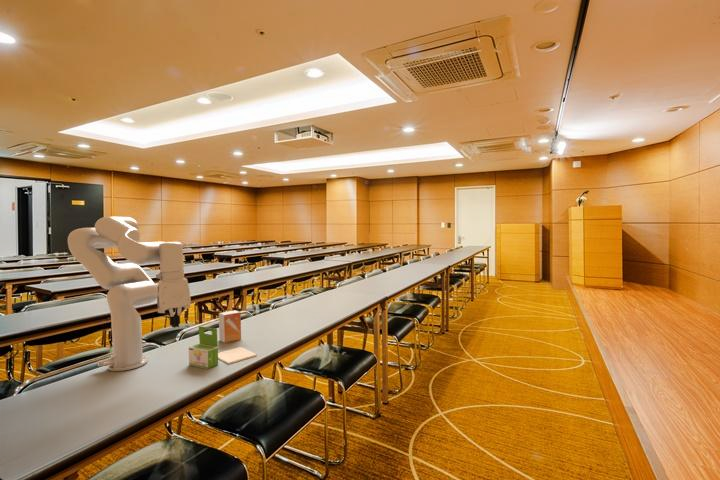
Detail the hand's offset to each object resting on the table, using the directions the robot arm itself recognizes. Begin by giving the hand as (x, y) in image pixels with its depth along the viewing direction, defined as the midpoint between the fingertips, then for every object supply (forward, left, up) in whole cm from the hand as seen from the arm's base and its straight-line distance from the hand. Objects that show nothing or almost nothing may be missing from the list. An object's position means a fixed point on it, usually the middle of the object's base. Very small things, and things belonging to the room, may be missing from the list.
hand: (175, 326), depth 127 cm
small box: (+31, +23, -17) cm, 42 cm away
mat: (+22, +1, -17) cm, 28 cm away
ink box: (+10, +1, -17) cm, 20 cm away
